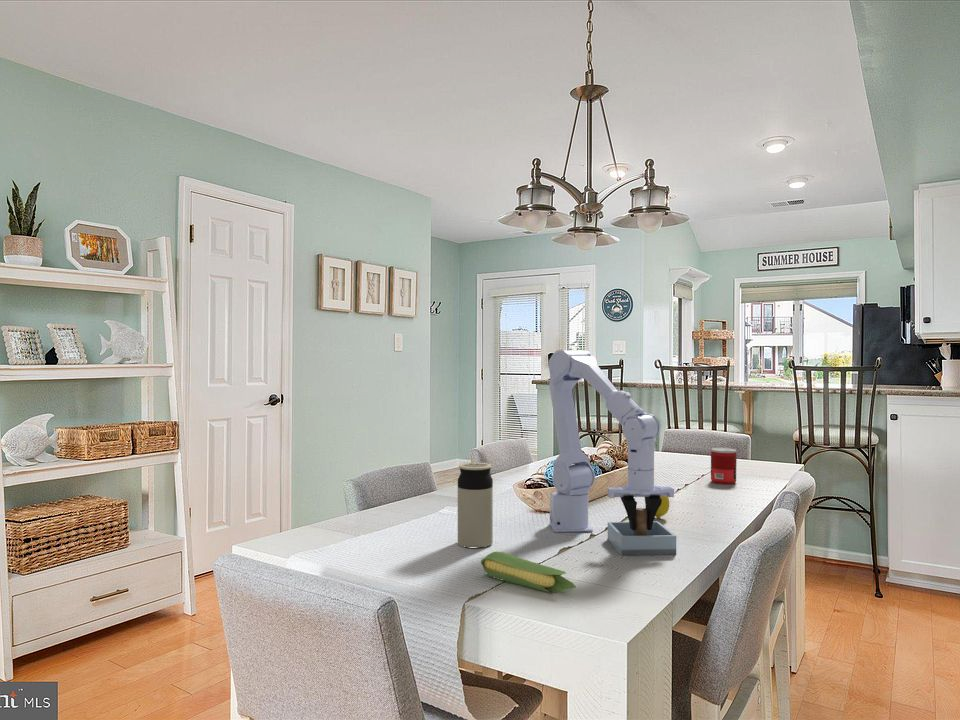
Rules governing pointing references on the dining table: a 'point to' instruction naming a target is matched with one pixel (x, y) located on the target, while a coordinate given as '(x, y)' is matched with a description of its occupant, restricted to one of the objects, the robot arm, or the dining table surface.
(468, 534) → the travel mug
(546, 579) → the edible corn
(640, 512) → the peg
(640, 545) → the tray
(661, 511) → the lemon
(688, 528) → the dining table surface
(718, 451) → the canned food
